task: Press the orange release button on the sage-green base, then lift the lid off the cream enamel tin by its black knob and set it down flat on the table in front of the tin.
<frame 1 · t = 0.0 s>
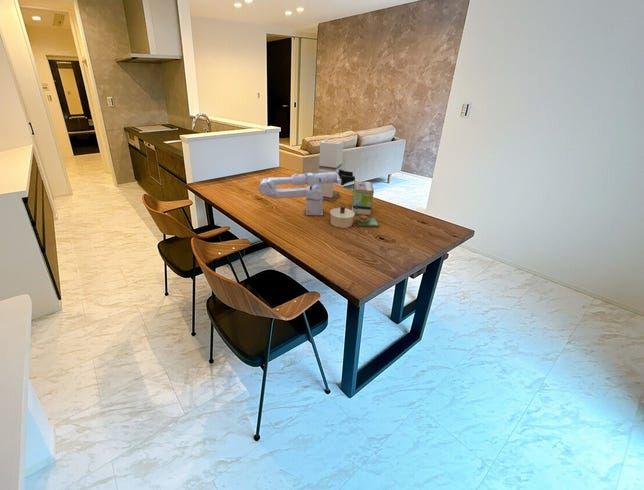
hand: (353, 176, 157), 22 cm above the table, tool horizontal, fingers open, 7 cm apart
tea box: (360, 209, 171), on the table
tin: (341, 222, 155), on the table
button: (363, 217, 153), point 3 cm above the table, slide at 0.1 cm
tin lid: (342, 213, 153), point 5 cm above the table, touching tin
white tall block: (328, 196, 189), on the table
release base: (366, 223, 154), on the table
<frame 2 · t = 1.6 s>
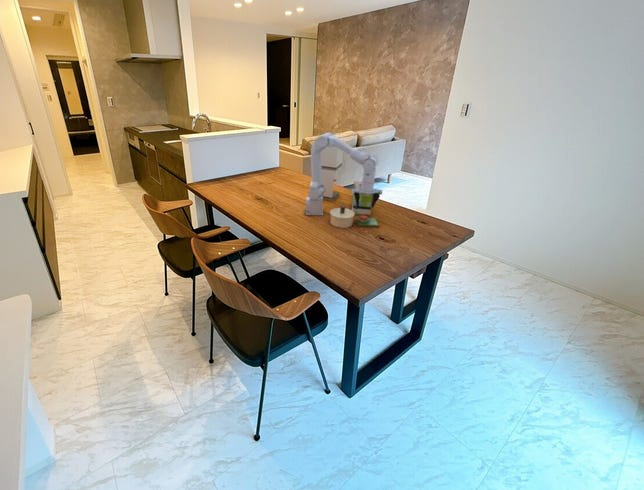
hand: (364, 206, 151), 9 cm above the table, tool pointing down, fingers open, 7 cm apart
nothing on the table moved.
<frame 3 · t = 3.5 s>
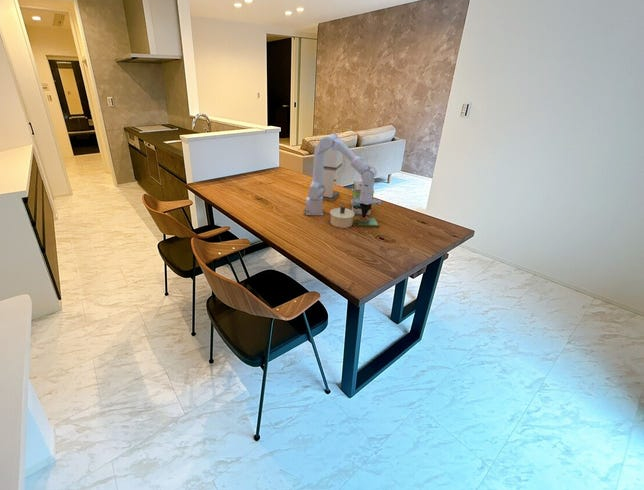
hand: (363, 216, 153), 4 cm above the table, tool pointing down, fingers closed, pressing on button
button: (363, 217, 153), point 3 cm above the table, slide at -0.1 cm, touching gripper
everything else where it was.
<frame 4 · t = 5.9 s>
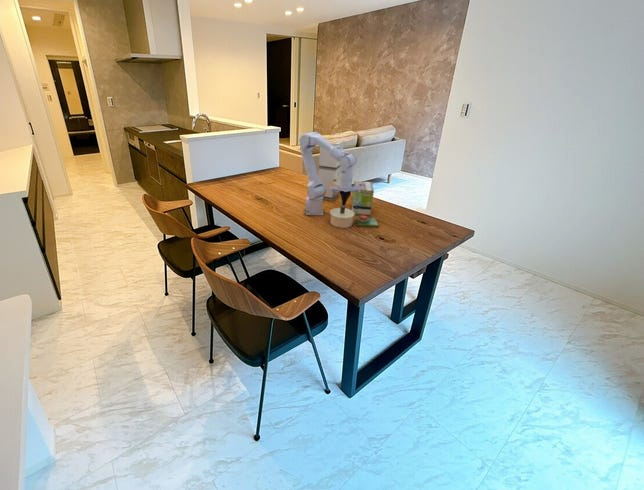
hand: (343, 204, 151), 10 cm above the table, tool pointing down, fingers closed
button: (363, 217, 153), point 3 cm above the table, slide at 0.1 cm
everything else where it was.
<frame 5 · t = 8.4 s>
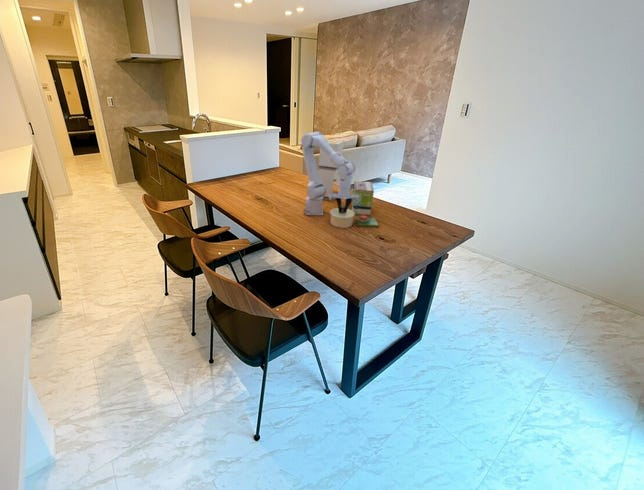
hand: (342, 211, 153), 6 cm above the table, tool pointing down, fingers closed on tin lid, 2 cm apart
tin lid: (342, 213, 153), point 5 cm above the table, touching gripper, tin
everything else where it was.
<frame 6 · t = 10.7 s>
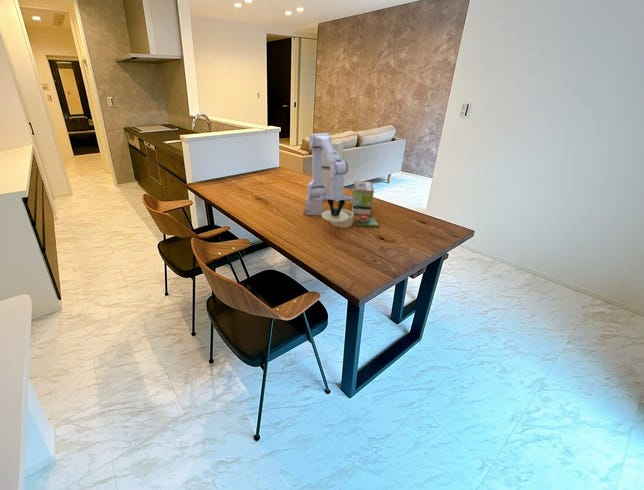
hand: (334, 214, 141), 10 cm above the table, tool pointing down, fingers closed on tin lid, 2 cm apart
tin lid: (334, 216, 141), point 9 cm above the table, touching gripper
everything else where it was.
when the fingers open (2 cm above the table, at t = 13.1 s): tin lid stays where it is, point 1 cm above the table.
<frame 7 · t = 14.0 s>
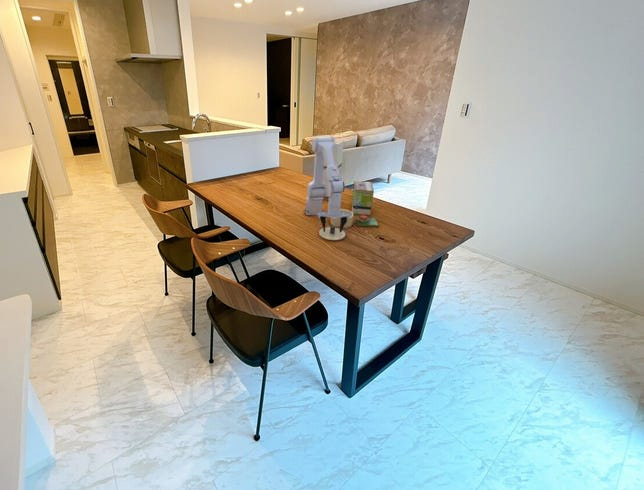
hand: (332, 231, 143), 2 cm above the table, tool pointing down, fingers open, 7 cm apart
tin lid: (332, 233, 143), point 1 cm above the table
everything else where it was.
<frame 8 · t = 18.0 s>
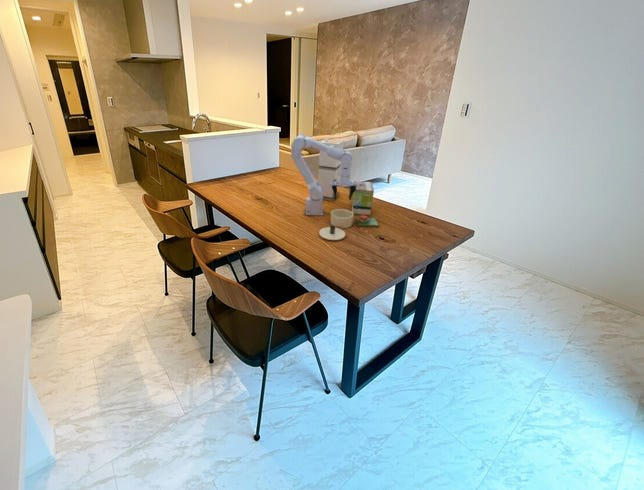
hand: (342, 199, 160), 9 cm above the table, tool pointing down, fingers open, 7 cm apart
nothing on the table moved.
at the end: button pushed in 1.0 cm at the most during the clip, back to where it started at the end; tin lid inside the target area (0.0 cm from its centre), point 0.6 cm above the table; tin lid tilted 0° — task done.
